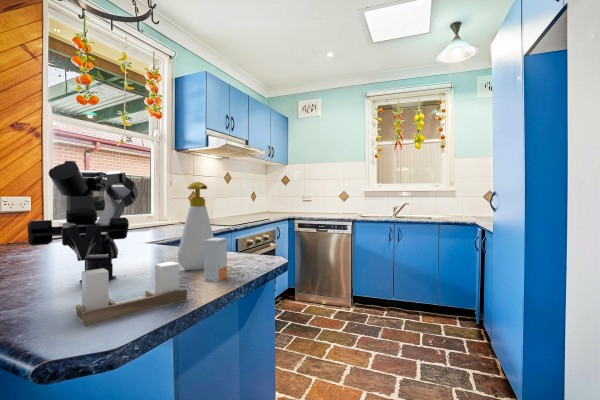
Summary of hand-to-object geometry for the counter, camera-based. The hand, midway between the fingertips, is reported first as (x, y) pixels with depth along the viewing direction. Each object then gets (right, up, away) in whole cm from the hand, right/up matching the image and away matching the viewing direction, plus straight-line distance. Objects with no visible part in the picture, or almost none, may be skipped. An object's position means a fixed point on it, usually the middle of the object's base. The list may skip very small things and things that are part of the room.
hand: (83, 259), depth 65 cm
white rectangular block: (+18, -9, +2) cm, 20 cm away
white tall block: (+6, -10, -5) cm, 12 cm away
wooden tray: (+12, -10, -2) cm, 16 cm away
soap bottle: (+15, -10, +32) cm, 37 cm away
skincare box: (+24, -10, +20) cm, 33 cm away
